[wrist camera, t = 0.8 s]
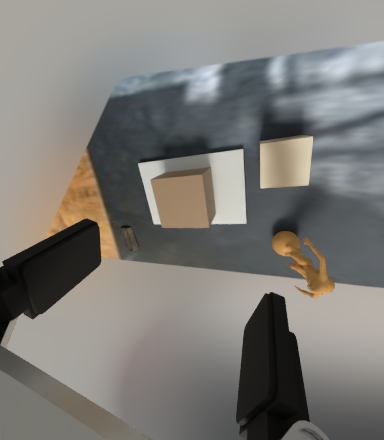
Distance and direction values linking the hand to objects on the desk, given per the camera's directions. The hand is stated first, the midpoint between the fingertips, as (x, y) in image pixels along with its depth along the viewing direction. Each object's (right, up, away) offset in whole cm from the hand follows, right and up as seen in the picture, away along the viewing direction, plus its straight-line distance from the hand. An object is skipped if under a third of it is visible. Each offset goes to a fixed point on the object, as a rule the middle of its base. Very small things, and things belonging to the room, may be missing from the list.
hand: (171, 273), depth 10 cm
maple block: (+14, +12, +17) cm, 25 cm away
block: (-13, -1, +34) cm, 36 cm away
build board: (+1, +8, +23) cm, 24 cm away
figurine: (+18, 0, +21) cm, 28 cm away
